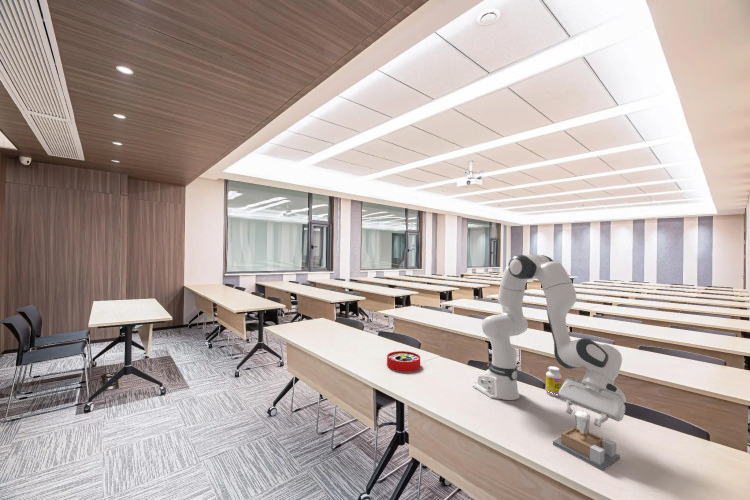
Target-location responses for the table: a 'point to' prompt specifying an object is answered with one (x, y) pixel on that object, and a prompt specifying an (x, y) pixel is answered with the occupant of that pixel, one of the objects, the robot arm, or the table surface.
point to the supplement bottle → (553, 381)
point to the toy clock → (403, 361)
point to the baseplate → (589, 448)
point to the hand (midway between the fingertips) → (581, 418)
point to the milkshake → (582, 424)
